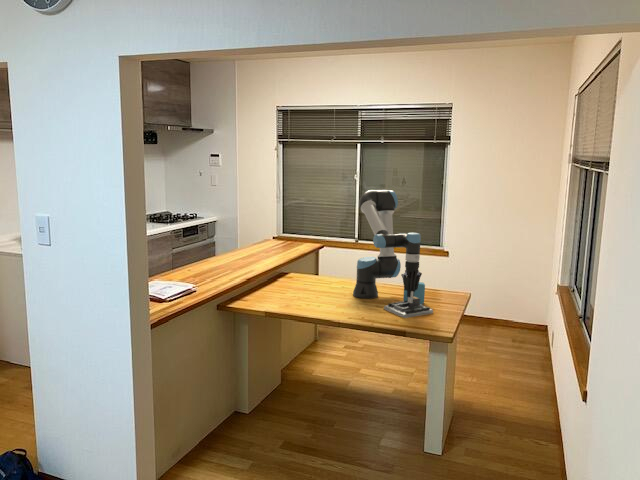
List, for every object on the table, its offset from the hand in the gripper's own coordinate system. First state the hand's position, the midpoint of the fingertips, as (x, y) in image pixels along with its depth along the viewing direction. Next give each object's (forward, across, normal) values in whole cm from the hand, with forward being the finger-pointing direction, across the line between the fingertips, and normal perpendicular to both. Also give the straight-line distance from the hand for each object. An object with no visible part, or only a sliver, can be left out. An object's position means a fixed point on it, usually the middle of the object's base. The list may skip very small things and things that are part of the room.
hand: (410, 302), depth 296 cm
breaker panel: (+5, -1, 0) cm, 5 cm away
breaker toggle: (+3, +3, 0) cm, 4 cm away
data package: (+5, +13, +12) cm, 18 cm away
